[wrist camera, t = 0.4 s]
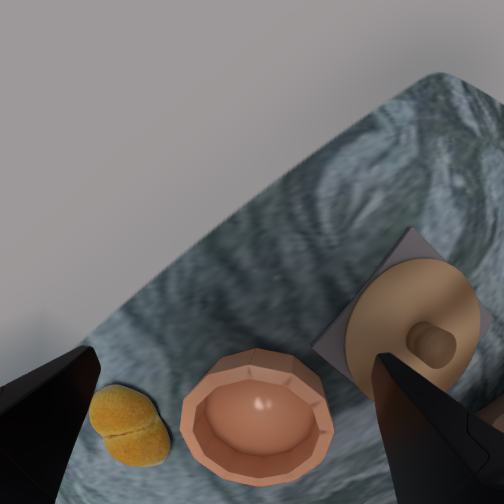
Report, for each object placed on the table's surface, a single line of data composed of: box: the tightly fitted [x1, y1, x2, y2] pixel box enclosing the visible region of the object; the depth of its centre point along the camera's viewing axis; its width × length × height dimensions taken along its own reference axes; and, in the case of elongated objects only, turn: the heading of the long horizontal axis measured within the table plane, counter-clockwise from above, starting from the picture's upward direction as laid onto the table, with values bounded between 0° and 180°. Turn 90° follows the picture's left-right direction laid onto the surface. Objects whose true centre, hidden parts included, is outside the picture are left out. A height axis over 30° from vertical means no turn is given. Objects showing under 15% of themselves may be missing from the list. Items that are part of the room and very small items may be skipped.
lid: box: [344, 259, 480, 402], centre depth 18 cm, size 12×12×4 cm
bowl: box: [180, 348, 335, 487], centre depth 20 cm, size 11×11×4 cm
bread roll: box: [89, 384, 171, 467], centre depth 22 cm, size 8×9×4 cm
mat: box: [311, 227, 494, 385], centre depth 20 cm, size 12×12×1 cm
